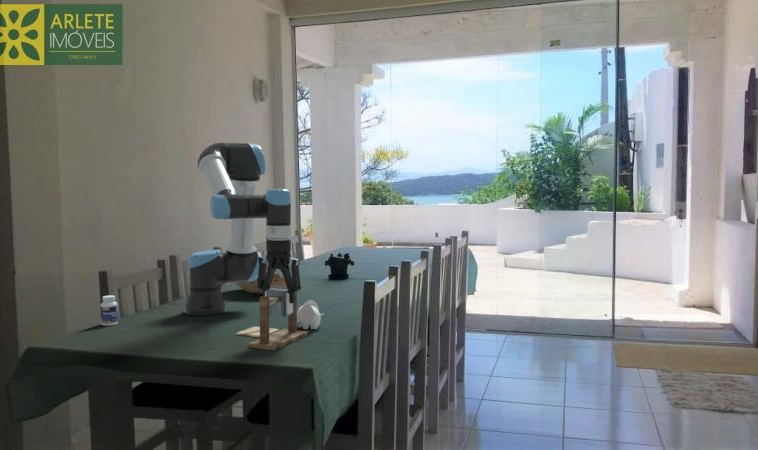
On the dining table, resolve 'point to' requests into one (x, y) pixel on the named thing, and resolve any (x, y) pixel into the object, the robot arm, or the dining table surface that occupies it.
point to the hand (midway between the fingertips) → (278, 312)
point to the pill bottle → (109, 311)
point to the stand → (280, 336)
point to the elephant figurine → (309, 315)
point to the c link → (273, 308)
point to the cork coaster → (255, 331)
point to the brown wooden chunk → (253, 288)
